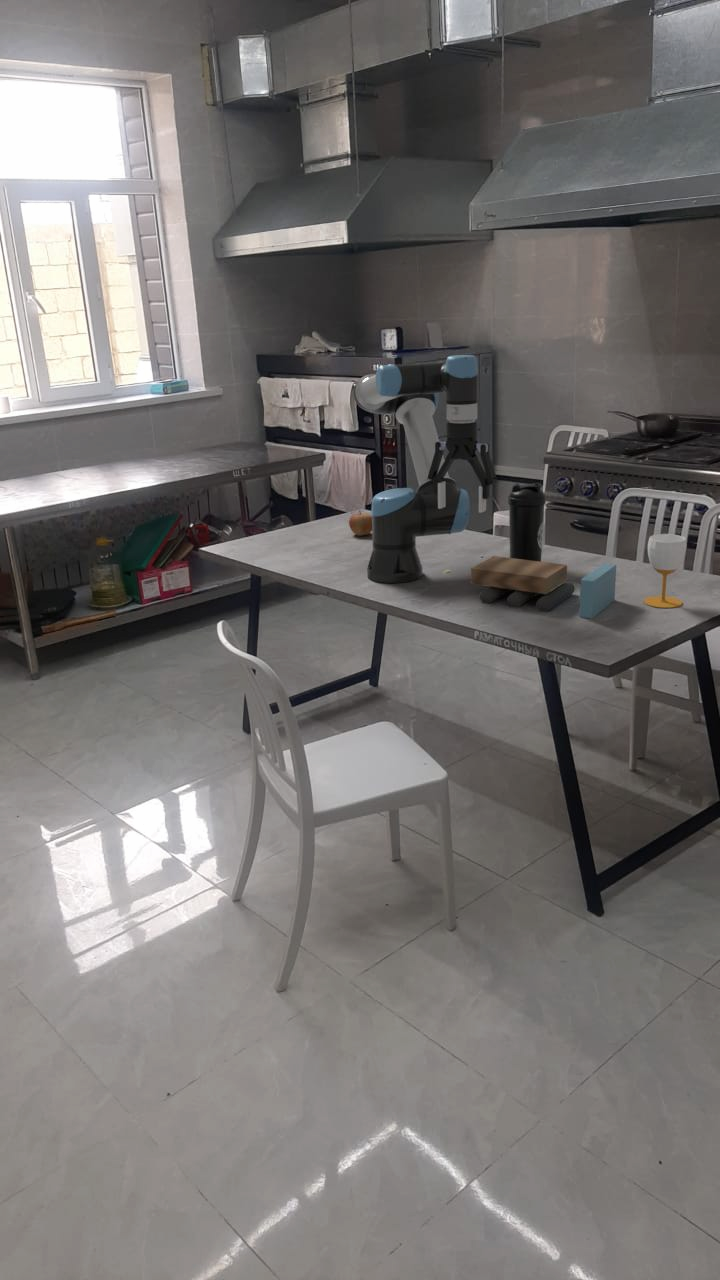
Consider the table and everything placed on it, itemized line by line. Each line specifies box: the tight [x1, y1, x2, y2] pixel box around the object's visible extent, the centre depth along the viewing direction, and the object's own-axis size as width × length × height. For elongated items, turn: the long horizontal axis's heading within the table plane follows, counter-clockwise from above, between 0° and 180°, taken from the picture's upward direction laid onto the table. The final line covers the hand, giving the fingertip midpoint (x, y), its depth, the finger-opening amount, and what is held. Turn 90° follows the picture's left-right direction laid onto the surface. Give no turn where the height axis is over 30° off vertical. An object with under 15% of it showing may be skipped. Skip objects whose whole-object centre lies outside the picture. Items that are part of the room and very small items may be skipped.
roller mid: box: [506, 590, 539, 609], centre depth 241 cm, size 16×4×4 cm
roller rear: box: [479, 586, 513, 604], centre depth 245 cm, size 16×4×4 cm
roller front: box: [535, 580, 576, 613], centre depth 237 cm, size 16×4×4 cm
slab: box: [470, 555, 568, 595], centre depth 241 cm, size 20×13×4 cm, turn 57°
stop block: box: [578, 562, 617, 619], centre depth 230 cm, size 3×16×9 cm, turn 147°
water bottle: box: [507, 482, 547, 562], centre depth 265 cm, size 10×10×23 cm
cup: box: [643, 533, 687, 609], centre depth 231 cm, size 9×9×16 cm
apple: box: [348, 510, 372, 537], centre depth 309 cm, size 8×8×8 cm
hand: (461, 509), depth 244 cm, fingers open, 11 cm apart
